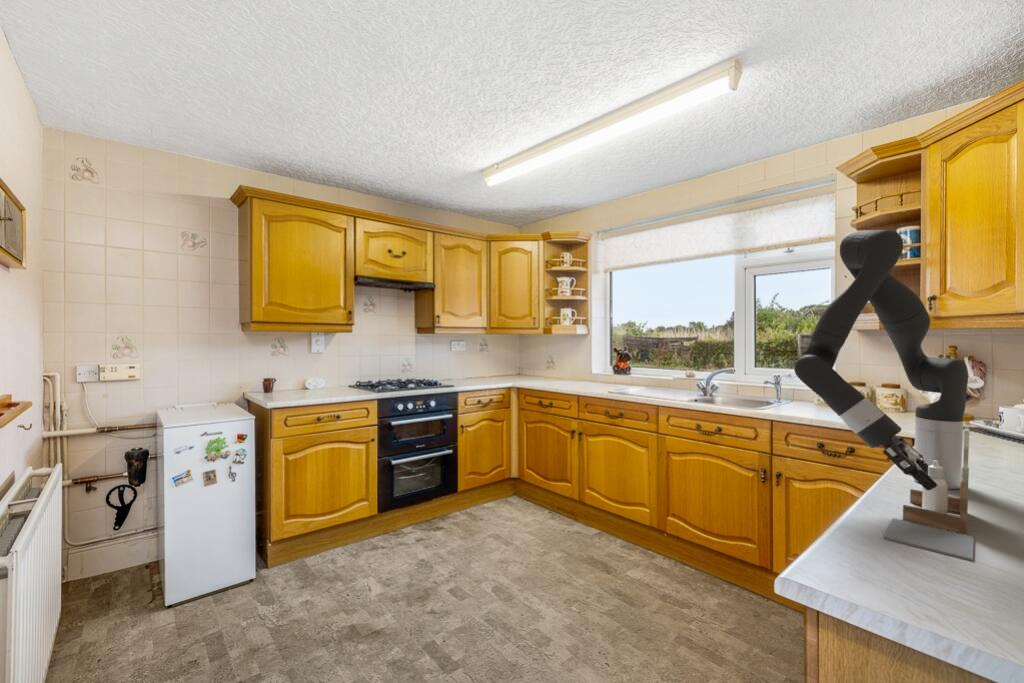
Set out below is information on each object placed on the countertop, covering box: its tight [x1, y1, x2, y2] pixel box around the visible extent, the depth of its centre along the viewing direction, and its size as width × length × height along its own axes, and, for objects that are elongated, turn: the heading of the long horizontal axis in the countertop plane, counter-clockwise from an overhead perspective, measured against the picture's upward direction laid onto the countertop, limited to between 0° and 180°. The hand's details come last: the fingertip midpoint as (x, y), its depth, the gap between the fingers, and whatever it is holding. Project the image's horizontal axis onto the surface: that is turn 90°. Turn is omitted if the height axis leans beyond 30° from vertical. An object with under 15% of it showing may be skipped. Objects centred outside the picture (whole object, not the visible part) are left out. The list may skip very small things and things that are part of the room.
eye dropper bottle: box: [921, 460, 949, 514], centre depth 99 cm, size 4×6×12 cm
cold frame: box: [902, 421, 970, 535], centre depth 99 cm, size 16×10×20 cm, turn 135°
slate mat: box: [883, 517, 975, 562], centre depth 88 cm, size 13×12×1 cm
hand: (934, 483), depth 99 cm, fingers open, 8 cm apart
